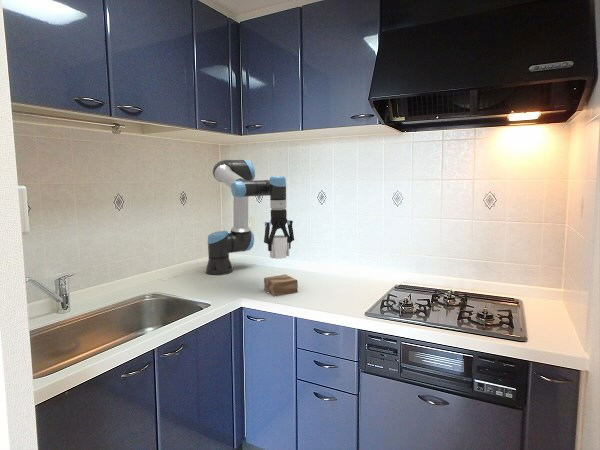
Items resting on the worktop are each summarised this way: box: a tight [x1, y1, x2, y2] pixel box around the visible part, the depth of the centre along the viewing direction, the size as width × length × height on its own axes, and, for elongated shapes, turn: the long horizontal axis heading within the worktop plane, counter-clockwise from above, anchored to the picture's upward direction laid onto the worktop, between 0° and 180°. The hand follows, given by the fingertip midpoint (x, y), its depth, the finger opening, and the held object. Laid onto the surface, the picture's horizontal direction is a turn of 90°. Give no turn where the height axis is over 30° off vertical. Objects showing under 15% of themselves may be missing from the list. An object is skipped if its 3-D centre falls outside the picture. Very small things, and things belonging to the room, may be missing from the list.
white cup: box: [272, 234, 288, 260], centre depth 184 cm, size 8×8×10 cm
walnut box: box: [263, 274, 299, 297], centre depth 186 cm, size 12×12×6 cm
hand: (279, 256), depth 184 cm, fingers closed on white cup, 7 cm apart
